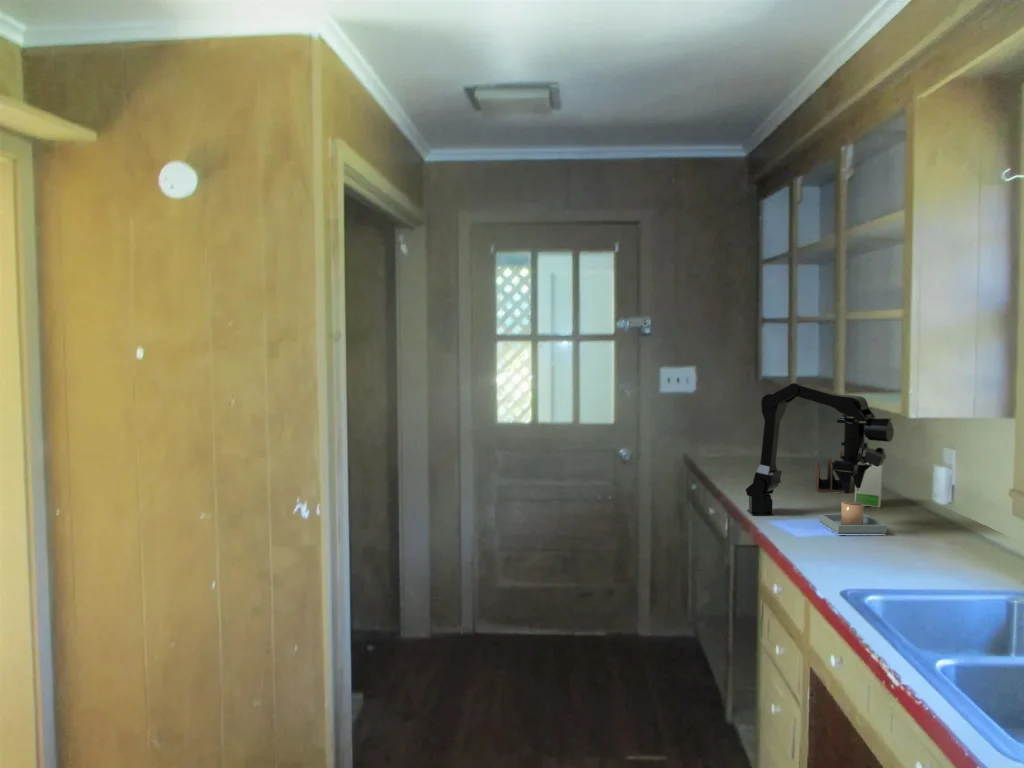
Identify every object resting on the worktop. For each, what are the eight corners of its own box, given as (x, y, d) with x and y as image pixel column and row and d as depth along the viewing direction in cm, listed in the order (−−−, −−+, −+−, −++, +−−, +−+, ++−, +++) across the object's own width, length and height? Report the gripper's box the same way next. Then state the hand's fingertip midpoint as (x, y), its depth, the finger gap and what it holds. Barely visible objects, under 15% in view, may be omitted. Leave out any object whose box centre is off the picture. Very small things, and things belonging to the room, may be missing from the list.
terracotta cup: (846, 529, 232) (846, 505, 231) (837, 523, 238) (838, 500, 237) (866, 528, 232) (867, 505, 231) (857, 523, 238) (858, 500, 237)
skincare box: (853, 505, 265) (854, 460, 264) (855, 501, 271) (856, 457, 270) (881, 508, 261) (882, 462, 260) (882, 504, 267) (883, 459, 266)
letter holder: (841, 483, 303) (842, 447, 302) (846, 494, 284) (847, 455, 283) (814, 482, 306) (815, 446, 305) (817, 492, 287) (817, 454, 286)
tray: (838, 536, 228) (838, 526, 228) (819, 523, 242) (819, 514, 242) (886, 535, 228) (886, 525, 228) (864, 523, 242) (864, 513, 242)
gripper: (872, 445, 221) (871, 499, 222) (892, 437, 234) (891, 488, 236) (832, 441, 228) (831, 494, 229) (854, 434, 242) (853, 484, 243)
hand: (853, 490), depth 234 cm, fingers open, 9 cm apart
